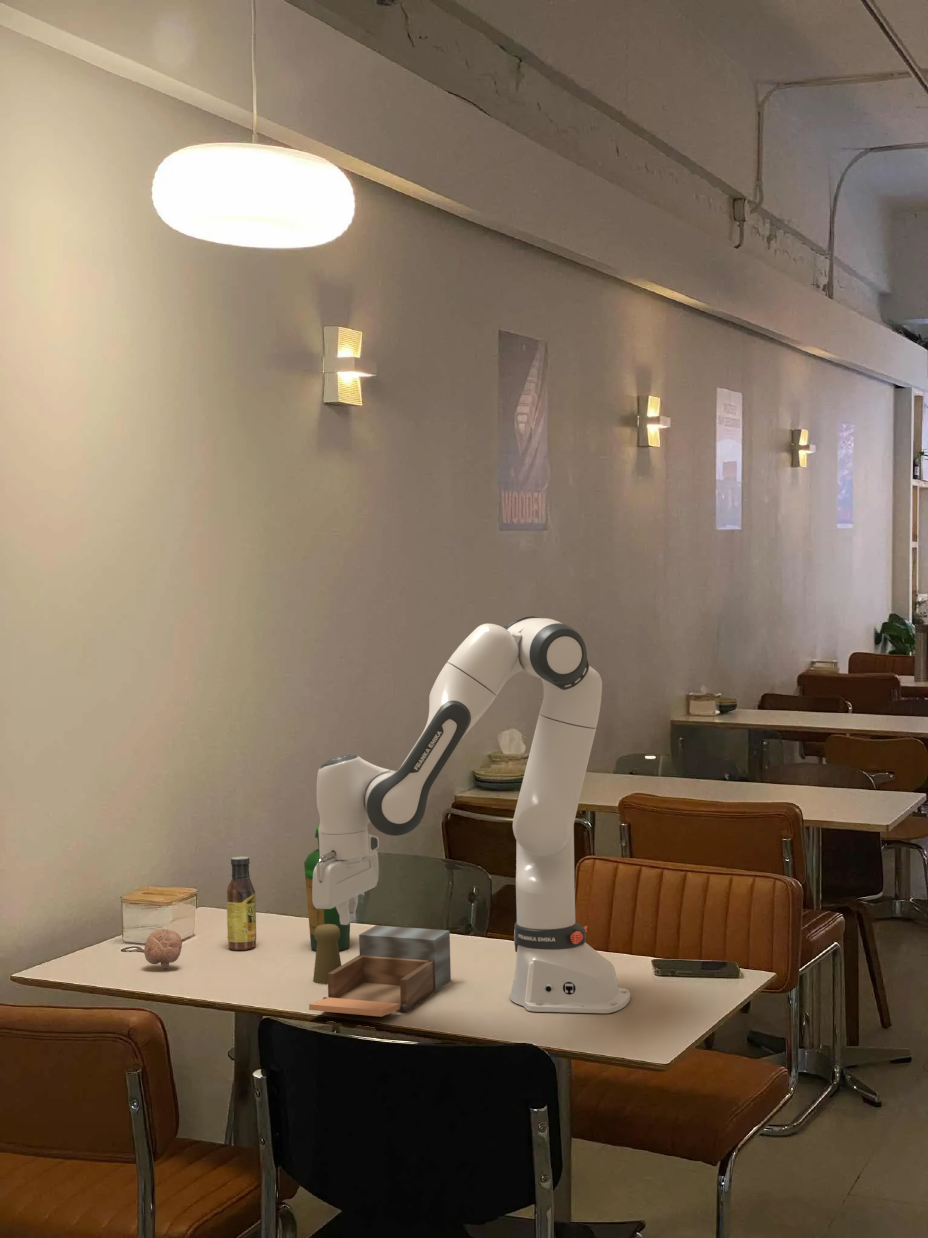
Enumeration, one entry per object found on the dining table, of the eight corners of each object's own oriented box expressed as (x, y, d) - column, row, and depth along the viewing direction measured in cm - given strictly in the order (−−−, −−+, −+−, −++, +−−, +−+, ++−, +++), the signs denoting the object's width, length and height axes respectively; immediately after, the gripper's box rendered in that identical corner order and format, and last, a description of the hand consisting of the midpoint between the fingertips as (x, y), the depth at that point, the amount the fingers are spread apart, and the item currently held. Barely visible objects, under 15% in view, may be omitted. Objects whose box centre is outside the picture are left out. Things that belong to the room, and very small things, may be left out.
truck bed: (452, 981, 275) (451, 930, 275) (405, 1015, 253) (404, 960, 253) (375, 974, 281) (374, 925, 281) (322, 1007, 259) (321, 954, 259)
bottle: (312, 941, 309) (309, 816, 309) (359, 942, 308) (356, 816, 308) (300, 954, 299) (296, 824, 298) (348, 954, 297) (345, 824, 297)
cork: (338, 984, 274) (337, 929, 274) (309, 983, 276) (307, 928, 276) (347, 976, 280) (345, 922, 280) (318, 975, 282) (317, 921, 281)
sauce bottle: (254, 951, 302) (251, 860, 302) (225, 952, 302) (223, 861, 302) (259, 944, 309) (256, 854, 308) (230, 944, 309) (228, 855, 309)
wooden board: (399, 1003, 254) (381, 1011, 246) (399, 1011, 253) (381, 1018, 246) (328, 997, 259) (309, 1004, 251) (328, 1004, 259) (308, 1011, 251)
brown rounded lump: (188, 967, 290) (187, 929, 290) (166, 974, 285) (165, 936, 285) (162, 963, 294) (161, 925, 294) (140, 970, 289) (139, 931, 289)
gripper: (333, 857, 239) (338, 937, 239) (383, 836, 258) (386, 911, 258) (301, 857, 241) (305, 936, 241) (352, 836, 260) (356, 909, 260)
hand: (347, 923), depth 250 cm, fingers closed
